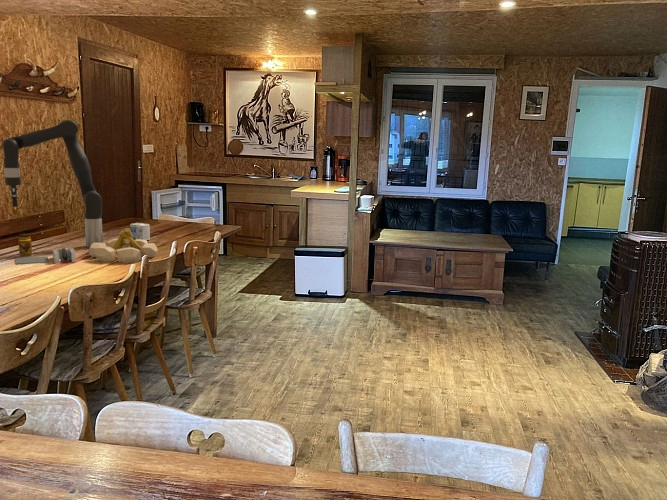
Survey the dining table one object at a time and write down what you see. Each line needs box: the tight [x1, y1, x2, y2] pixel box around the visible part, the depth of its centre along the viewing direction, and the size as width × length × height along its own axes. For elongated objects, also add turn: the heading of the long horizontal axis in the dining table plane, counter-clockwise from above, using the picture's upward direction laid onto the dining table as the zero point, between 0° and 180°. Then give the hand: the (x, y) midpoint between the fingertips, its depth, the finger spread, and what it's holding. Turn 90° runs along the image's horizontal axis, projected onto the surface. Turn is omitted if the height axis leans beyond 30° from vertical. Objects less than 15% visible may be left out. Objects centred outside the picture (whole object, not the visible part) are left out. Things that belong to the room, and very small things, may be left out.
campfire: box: [87, 227, 159, 264], centre depth 304 cm, size 35×34×17 cm
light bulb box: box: [129, 222, 151, 241], centre depth 352 cm, size 11×7×11 cm, turn 68°
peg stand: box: [60, 247, 71, 263], centre depth 287 cm, size 4×4×7 cm
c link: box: [52, 247, 77, 264], centre depth 291 cm, size 14×10×5 cm
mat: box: [15, 256, 50, 265], centre depth 286 cm, size 15×13×1 cm
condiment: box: [15, 233, 35, 258], centre depth 295 cm, size 7×8×12 cm
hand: (15, 205), depth 299 cm, fingers open, 8 cm apart
